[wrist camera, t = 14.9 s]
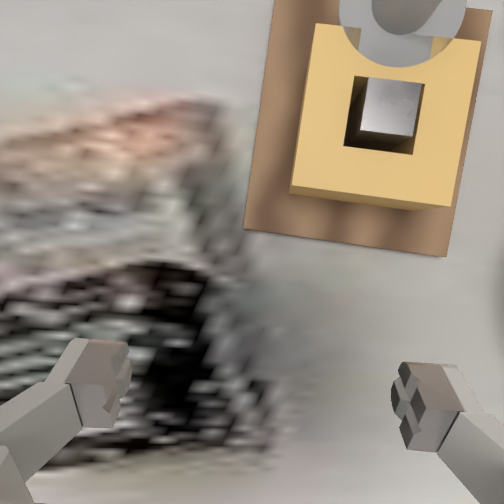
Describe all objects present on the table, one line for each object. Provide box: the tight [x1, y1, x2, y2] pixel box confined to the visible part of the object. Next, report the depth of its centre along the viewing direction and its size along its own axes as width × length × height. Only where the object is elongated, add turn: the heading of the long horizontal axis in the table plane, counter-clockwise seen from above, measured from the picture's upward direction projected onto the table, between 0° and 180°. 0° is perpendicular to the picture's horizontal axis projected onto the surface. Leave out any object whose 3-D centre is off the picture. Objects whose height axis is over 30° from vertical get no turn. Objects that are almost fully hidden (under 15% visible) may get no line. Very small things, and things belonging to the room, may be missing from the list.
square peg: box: [343, 77, 422, 152], centre depth 30 cm, size 4×4×10 cm
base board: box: [243, 0, 493, 257], centre depth 36 cm, size 20×23×2 cm
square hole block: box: [289, 0, 481, 211], centre depth 25 cm, size 12×18×20 cm, turn 172°
